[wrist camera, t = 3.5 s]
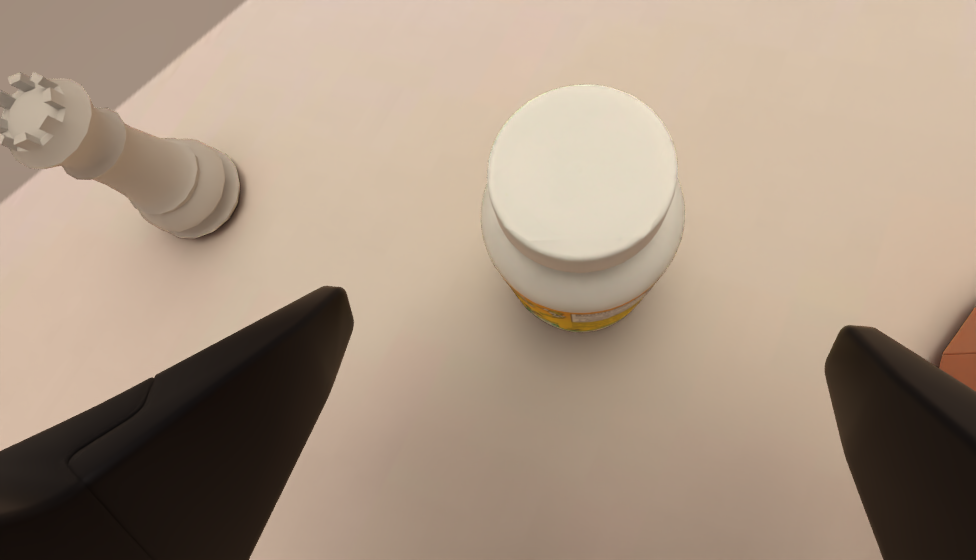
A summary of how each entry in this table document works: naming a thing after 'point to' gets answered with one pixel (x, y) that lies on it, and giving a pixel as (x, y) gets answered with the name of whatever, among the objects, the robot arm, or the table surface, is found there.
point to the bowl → (962, 353)
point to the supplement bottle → (582, 205)
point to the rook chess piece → (118, 155)
